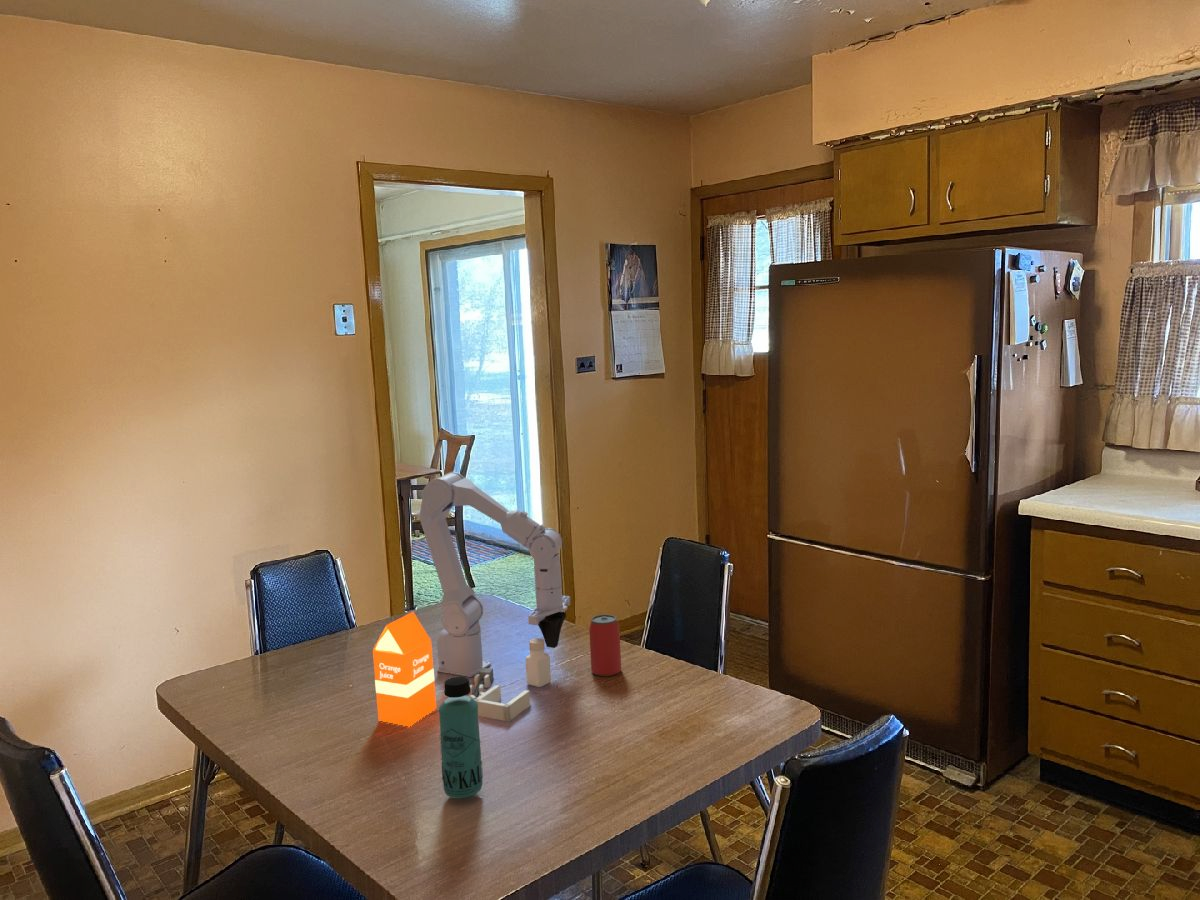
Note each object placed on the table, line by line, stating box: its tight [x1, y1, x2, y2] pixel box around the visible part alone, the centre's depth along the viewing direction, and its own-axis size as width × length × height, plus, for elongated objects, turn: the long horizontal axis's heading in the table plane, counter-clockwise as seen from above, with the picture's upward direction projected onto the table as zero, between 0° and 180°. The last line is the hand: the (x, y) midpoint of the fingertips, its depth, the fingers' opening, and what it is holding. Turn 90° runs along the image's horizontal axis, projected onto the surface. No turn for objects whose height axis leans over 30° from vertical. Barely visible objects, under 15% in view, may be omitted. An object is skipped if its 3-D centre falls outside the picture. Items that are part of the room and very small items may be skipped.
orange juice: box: [372, 611, 437, 728], centre depth 172 cm, size 8×9×20 cm
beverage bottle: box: [438, 675, 484, 799], centre depth 140 cm, size 6×7×20 cm
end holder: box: [475, 684, 531, 722], centre depth 174 cm, size 8×8×3 cm
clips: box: [467, 673, 492, 700], centre depth 181 cm, size 4×13×2 cm, turn 3°
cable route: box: [473, 667, 495, 698], centre depth 182 cm, size 3×16×2 cm, turn 0°
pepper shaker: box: [524, 637, 552, 688], centre depth 185 cm, size 4×4×10 cm
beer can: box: [588, 614, 622, 677], centre depth 190 cm, size 7×7×12 cm
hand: (552, 646), depth 190 cm, fingers closed
